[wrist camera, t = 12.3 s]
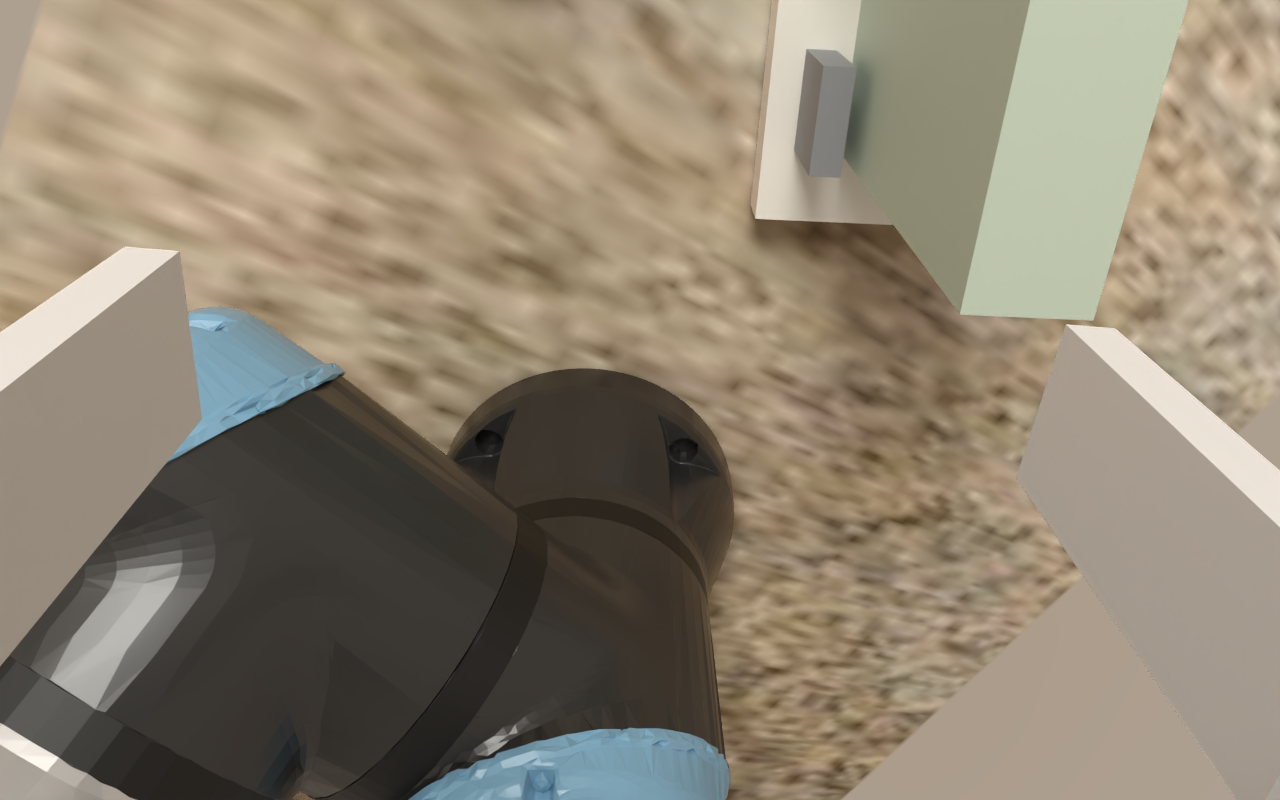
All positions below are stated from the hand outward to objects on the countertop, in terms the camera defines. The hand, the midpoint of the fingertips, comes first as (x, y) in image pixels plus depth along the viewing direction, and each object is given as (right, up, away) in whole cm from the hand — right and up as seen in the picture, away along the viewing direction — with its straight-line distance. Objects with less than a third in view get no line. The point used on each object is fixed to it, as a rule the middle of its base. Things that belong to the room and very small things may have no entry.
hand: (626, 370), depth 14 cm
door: (+11, +16, +22) cm, 29 cm away
